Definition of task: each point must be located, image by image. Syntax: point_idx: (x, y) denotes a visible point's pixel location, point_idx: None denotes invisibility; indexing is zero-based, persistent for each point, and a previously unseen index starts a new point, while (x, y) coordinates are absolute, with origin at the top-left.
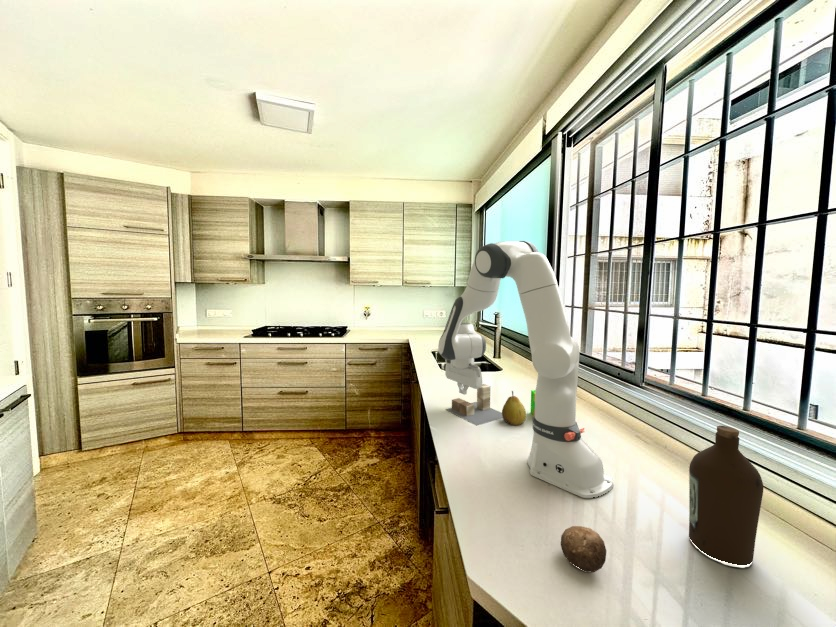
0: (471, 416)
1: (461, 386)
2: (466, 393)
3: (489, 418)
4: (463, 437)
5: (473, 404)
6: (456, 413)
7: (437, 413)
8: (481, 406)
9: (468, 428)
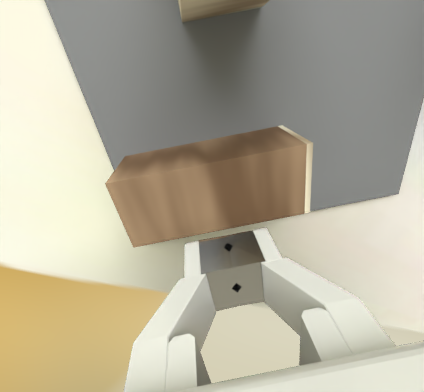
0: None
1: (196, 320)
2: (266, 230)
3: (394, 66)
4: (414, 270)
5: (303, 146)
6: None
7: (175, 279)
8: (245, 4)
9: (380, 228)
